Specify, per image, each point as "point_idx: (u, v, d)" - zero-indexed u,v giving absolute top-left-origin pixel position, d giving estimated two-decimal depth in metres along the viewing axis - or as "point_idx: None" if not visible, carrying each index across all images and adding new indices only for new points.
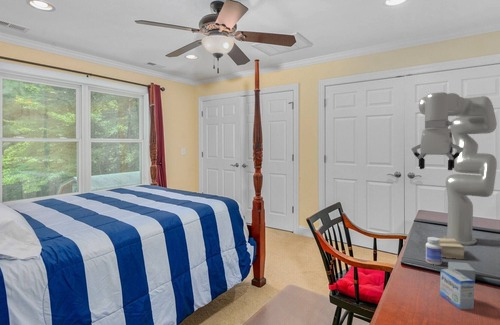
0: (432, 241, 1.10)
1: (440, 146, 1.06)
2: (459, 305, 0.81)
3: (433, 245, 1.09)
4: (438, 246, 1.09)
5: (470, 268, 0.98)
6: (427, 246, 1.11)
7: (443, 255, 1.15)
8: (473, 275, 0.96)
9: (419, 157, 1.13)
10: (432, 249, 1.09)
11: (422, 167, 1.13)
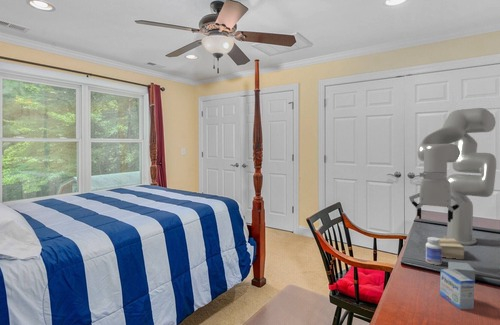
0: (432, 241, 1.10)
1: None
2: (459, 305, 0.81)
3: (433, 245, 1.09)
4: (438, 246, 1.09)
5: (470, 268, 0.98)
6: (427, 246, 1.11)
7: (443, 255, 1.15)
8: (473, 275, 0.96)
9: None
10: (432, 249, 1.09)
11: None
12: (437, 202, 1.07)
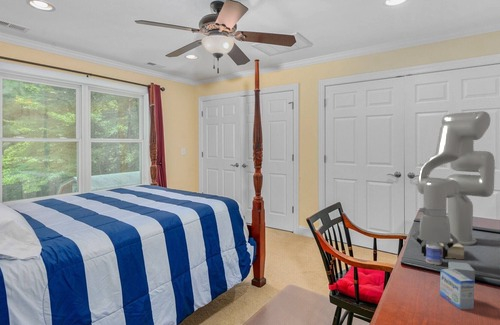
0: None
1: None
2: (459, 305, 0.81)
3: (433, 245, 1.09)
4: (438, 246, 1.09)
5: (470, 268, 0.98)
6: (427, 246, 1.11)
7: None
8: (473, 275, 0.96)
9: None
10: (432, 249, 1.09)
11: None
12: (437, 238, 1.08)
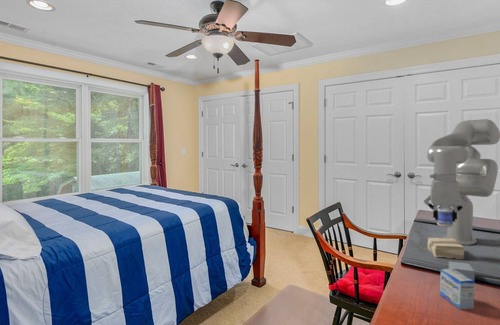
0: None
1: None
2: (459, 305, 0.81)
3: (445, 209, 1.16)
4: (449, 209, 1.15)
5: (470, 268, 0.98)
6: (439, 210, 1.17)
7: (443, 255, 1.15)
8: (472, 275, 0.96)
9: None
10: (444, 212, 1.15)
11: None
12: (447, 202, 1.14)
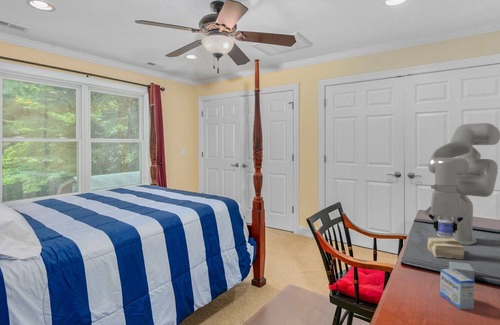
0: (444, 216, 1.17)
1: None
2: (459, 305, 0.81)
3: (445, 220, 1.16)
4: (450, 220, 1.16)
5: (470, 268, 0.98)
6: (439, 221, 1.18)
7: (443, 255, 1.15)
8: (472, 275, 0.96)
9: None
10: (444, 223, 1.16)
11: None
12: (448, 213, 1.15)
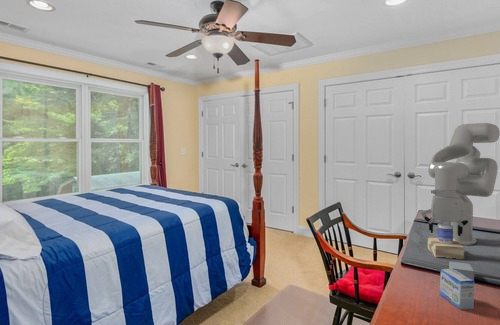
0: (444, 222, 1.17)
1: None
2: (459, 305, 0.81)
3: (445, 225, 1.17)
4: (450, 226, 1.16)
5: (470, 268, 0.97)
6: (439, 227, 1.18)
7: (443, 255, 1.15)
8: (472, 275, 0.96)
9: None
10: (444, 229, 1.17)
11: None
12: (448, 218, 1.15)
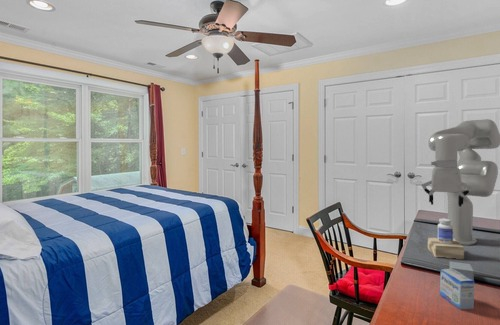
0: (444, 222, 1.17)
1: None
2: (459, 305, 0.81)
3: (445, 225, 1.17)
4: (450, 226, 1.16)
5: (469, 268, 0.97)
6: (439, 227, 1.18)
7: (443, 255, 1.15)
8: (471, 275, 0.96)
9: None
10: (444, 229, 1.17)
11: (458, 204, 1.16)
12: (448, 188, 1.15)
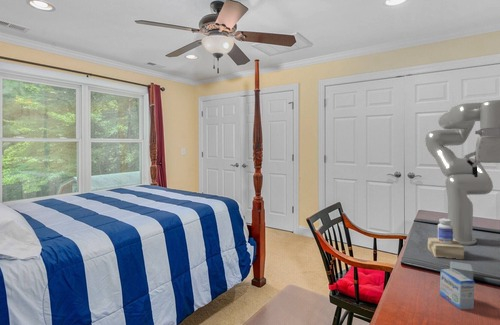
0: (444, 222, 1.17)
1: None
2: (459, 305, 0.81)
3: (445, 225, 1.17)
4: (450, 226, 1.16)
5: (469, 269, 0.97)
6: (439, 227, 1.18)
7: (443, 255, 1.15)
8: (471, 275, 0.96)
9: None
10: (444, 229, 1.17)
11: None
12: (496, 158, 1.06)
